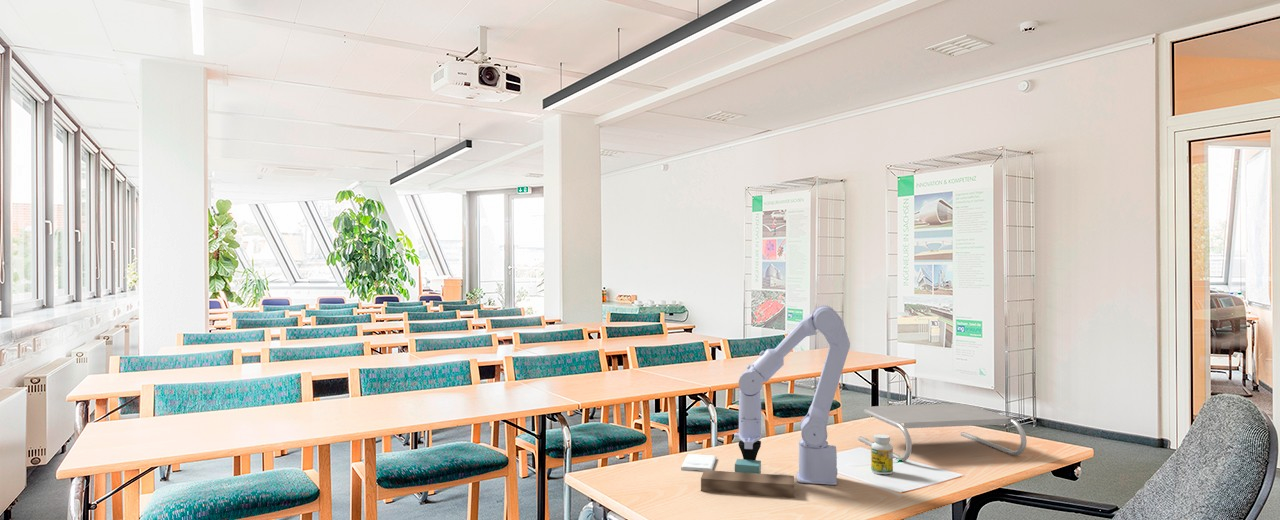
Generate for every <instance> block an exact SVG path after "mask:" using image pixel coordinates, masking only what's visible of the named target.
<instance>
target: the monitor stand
mask: <svg viewBox="0 0 1280 520" xmlns="http://www.w3.org/2000/svg"><path fill="white" fill-rule="evenodd" d="M863 410H864V411H863V412H864V413H865V414H866V415H868V416H869V417H872V418H874V419H877V420H879V421H882V422H884V423H886V424H888V425H891V426H893V427H895V428H898V429H899V430H900V431H901V433H902V434H903V436H904V440H905V445H906V447H905V452H904V454H903V455H902V456H901V455H899V454H897V453H895V452H893V459H894V458H896V459H899V460H902V461H901V462H906V461H907V460H908V459H909V458H910V456H911V454H912V448H913V447H912V446H913V443H912V439H911V435H910V433H909V431H908V429H919V428H921V429H923V428H925V429H926V428H946V427H969V426H971V427H972V426H974V427H975V426H992V425H993V426H996V425H1009V424H1012V425H1013V426H1014V427H1015V428H1016V430H1017V431H1018V433H1019V436H1020V445H1019V446H1018V449H1016V450H1012V449H1010V448H1007V447H1005V446H1003V445H1000V444H997V443H994V442H992V441H989V440H986V439H983V438H981V437H978V436H975V435H973V434H970V433H968V432H965V431H962V432H960V435H961V437H965V438H967V439H969V440H971V441H974V442H977V443H980V444H983V445H984V444H985V446H986V447H989V446H990V448H992V447H993V448H992V449H995V450H997V449H998V451H1000V450H1001V451H1003V452H1002V453H1005V452H1006V454H1008V455H1010V454H1012V455H1011V456H1019V455H1021V454H1022V453H1023V452H1024V451H1025V449H1026V448H1027V440H1028V439H1027V435H1026V432H1025V429H1024V428H1023V426H1022V425H1021V424H1020V422H1018V420H1015V419H1014V418H1012V417H1008V416H1006V415H1002V414H1000V413H997V412H994V411H990V410H987V409H985V408H980V407H978V406H974V405H970V404H965V403H929V404H908V405H907V404H904V405H901V404H900V405H898V404H897V405H879V406H878V405H875V406H873V405H872V406H868V407H866V408H864V409H863ZM858 441H859V442H860V443H861V442H862V443H863V444H865V445H868V446H869V447H871V445H872V444H873V443H874V442H873V441H872V440H870V439H867V438H865V437H863V436H858ZM1001 451H1000V452H1001ZM896 459H895V460H896Z"/></svg>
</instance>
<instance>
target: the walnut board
mask: <svg viewBox="0 0 1280 520" xmlns="http://www.w3.org/2000/svg"><path fill="white" fill-rule="evenodd" d="M700 492H710V493H711V492H712V493H724V494H737V495H738V494H739V495H751V496H767V497H769V496H770V497H780V498H781V497H783V498H784V497H785V498H795V476H794V475H790V474H789V475H787V474H770V473H761V474H758V473H742V472H735V471H723V470H712V471H711V470H704V472H703V471H702V474H701V477H700Z"/></svg>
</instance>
